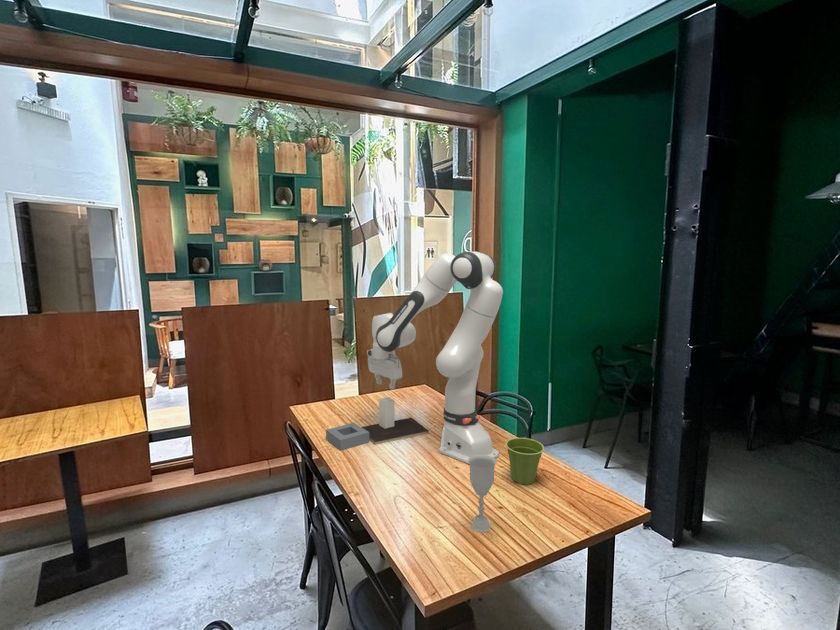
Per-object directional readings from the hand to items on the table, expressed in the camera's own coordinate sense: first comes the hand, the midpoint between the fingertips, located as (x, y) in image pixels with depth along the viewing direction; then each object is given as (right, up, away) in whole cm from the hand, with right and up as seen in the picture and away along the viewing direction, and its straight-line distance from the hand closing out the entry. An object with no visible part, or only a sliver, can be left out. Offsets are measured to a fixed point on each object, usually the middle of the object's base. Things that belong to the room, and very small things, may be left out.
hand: (385, 386), depth 174 cm
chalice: (+30, -26, -62) cm, 73 cm away
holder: (-14, -19, -10) cm, 25 cm away
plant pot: (+47, -23, -38) cm, 64 cm away
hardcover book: (+3, -19, -1) cm, 19 cm away
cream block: (0, -16, +1) cm, 16 cm away
